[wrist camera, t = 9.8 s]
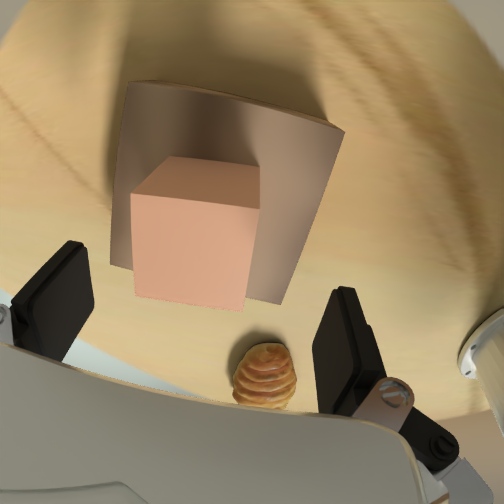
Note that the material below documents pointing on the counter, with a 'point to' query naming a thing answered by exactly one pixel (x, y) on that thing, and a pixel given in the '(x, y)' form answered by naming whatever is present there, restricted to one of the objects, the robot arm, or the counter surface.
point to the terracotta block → (195, 232)
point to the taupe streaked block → (232, 151)
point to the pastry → (265, 377)
